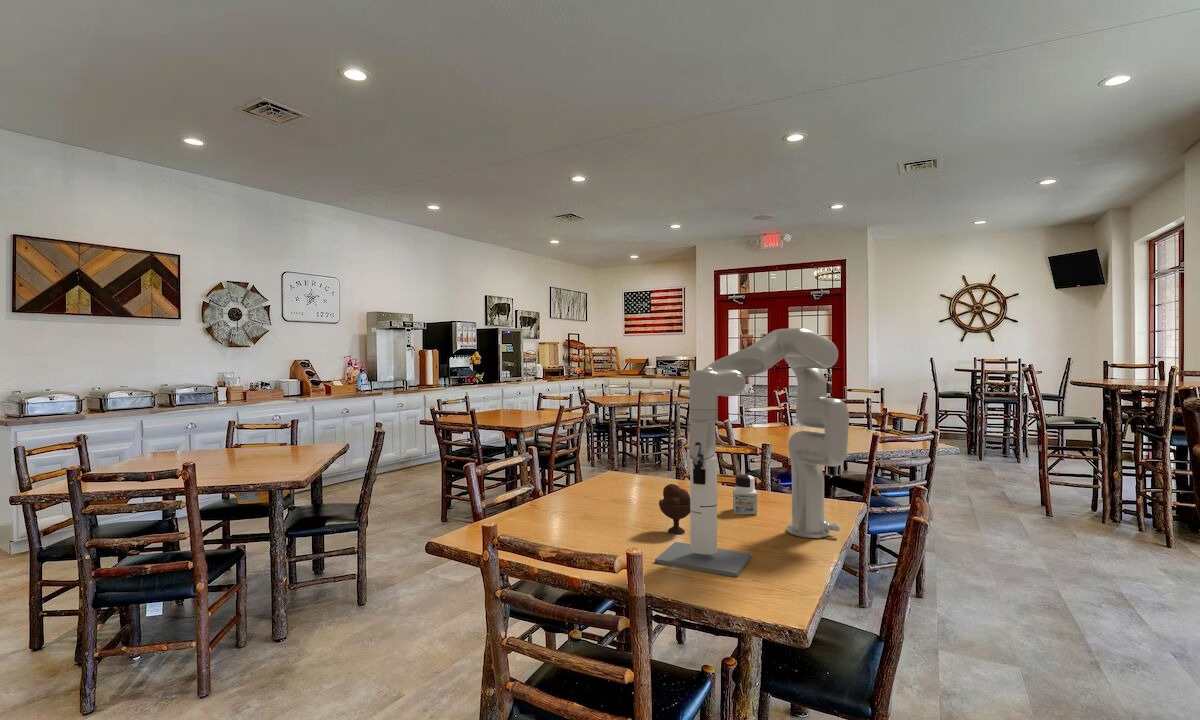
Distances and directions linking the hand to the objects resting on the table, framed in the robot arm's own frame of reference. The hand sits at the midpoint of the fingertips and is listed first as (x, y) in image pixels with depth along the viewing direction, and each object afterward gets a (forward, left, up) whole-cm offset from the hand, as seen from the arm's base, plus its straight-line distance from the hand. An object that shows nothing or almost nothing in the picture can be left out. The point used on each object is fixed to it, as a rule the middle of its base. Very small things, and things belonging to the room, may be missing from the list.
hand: (703, 480), depth 153 cm
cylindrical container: (0, 0, -19) cm, 19 cm away
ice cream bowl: (+15, -20, -22) cm, 33 cm away
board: (0, 0, -21) cm, 21 cm away
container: (+1, -53, -22) cm, 57 cm away
